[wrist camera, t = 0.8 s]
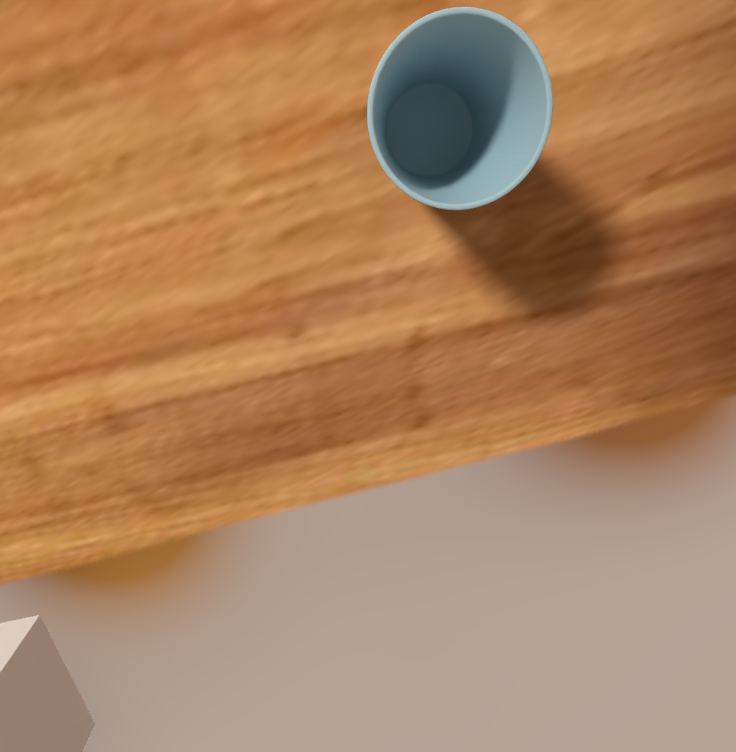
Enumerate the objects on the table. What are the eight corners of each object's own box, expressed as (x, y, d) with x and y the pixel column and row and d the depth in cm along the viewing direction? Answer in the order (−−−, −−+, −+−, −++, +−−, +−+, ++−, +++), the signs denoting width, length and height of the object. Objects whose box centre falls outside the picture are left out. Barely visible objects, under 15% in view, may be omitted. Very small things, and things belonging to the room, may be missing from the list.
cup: (497, 193, 35) (555, 198, 26) (370, 209, 35) (378, 220, 26) (491, 52, 33) (551, -4, 23) (354, 69, 33) (356, 21, 23)
